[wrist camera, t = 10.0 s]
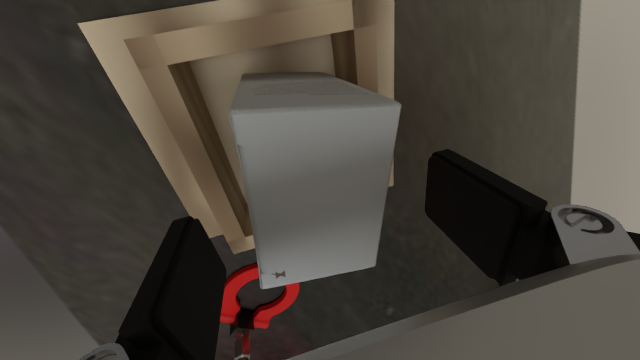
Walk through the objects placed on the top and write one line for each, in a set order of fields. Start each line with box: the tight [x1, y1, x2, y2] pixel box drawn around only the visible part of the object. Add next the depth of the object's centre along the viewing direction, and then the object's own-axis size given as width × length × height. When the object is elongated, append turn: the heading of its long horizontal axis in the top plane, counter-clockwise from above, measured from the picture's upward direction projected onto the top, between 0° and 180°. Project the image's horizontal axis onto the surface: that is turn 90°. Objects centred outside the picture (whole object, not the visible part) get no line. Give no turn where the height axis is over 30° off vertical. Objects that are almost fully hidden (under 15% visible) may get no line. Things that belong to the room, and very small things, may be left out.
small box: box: [229, 72, 402, 289], centre depth 14 cm, size 8×6×10 cm
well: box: [77, 0, 394, 254], centre depth 16 cm, size 18×16×5 cm
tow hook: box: [220, 263, 299, 360], centre depth 22 cm, size 8×13×9 cm
